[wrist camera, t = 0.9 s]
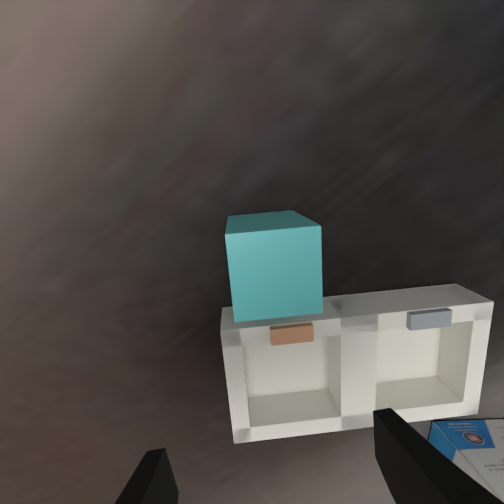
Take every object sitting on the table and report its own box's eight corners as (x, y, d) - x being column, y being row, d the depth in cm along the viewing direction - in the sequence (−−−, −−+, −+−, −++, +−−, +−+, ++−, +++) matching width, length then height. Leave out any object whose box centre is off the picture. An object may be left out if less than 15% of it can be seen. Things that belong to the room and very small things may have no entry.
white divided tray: (455, 283, 20) (499, 304, 16) (444, 382, 22) (482, 418, 18) (222, 307, 19) (219, 334, 16) (234, 407, 21) (234, 449, 18)
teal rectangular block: (292, 210, 18) (321, 225, 12) (295, 271, 19) (322, 313, 13) (227, 216, 17) (224, 234, 12) (234, 277, 18) (234, 322, 13)
